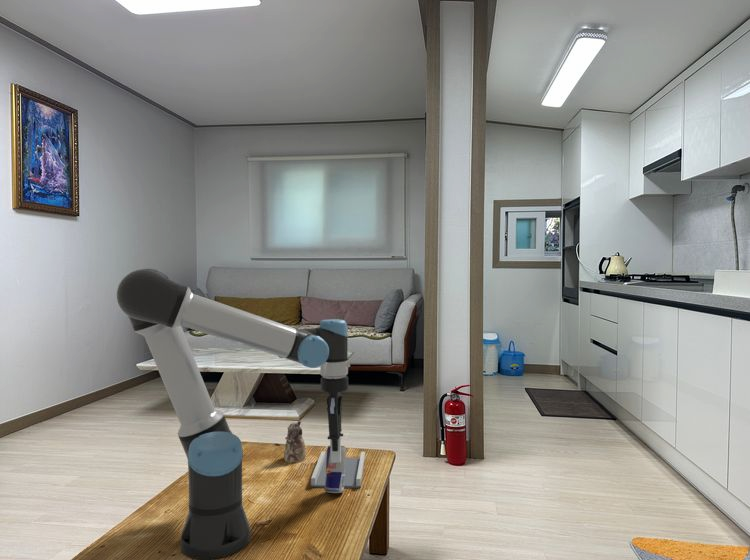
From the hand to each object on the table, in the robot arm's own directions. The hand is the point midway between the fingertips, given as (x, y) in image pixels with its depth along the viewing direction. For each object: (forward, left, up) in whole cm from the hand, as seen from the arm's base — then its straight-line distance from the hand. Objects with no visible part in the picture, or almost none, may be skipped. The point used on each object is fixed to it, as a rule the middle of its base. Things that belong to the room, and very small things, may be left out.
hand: (335, 461), depth 140 cm
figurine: (+27, +17, -10) cm, 33 cm away
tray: (+16, +1, -9) cm, 19 cm away
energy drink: (+1, +1, -9) cm, 9 cm away
